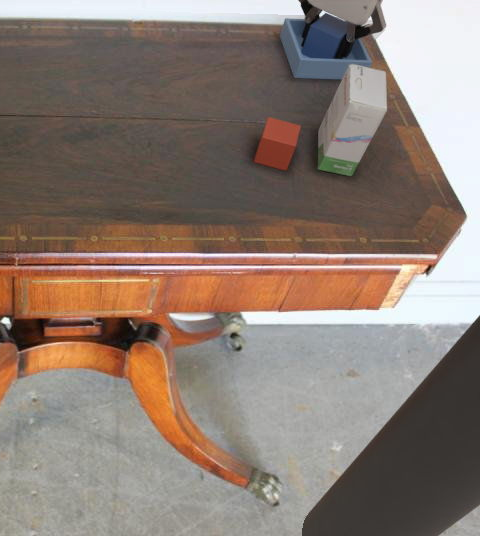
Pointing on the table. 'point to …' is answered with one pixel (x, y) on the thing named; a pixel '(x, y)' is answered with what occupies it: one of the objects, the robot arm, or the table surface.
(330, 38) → the blue block
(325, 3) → the robot arm
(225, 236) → the table surface
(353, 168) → the ink box
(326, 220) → the table surface
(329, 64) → the blue bin
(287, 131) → the red block
